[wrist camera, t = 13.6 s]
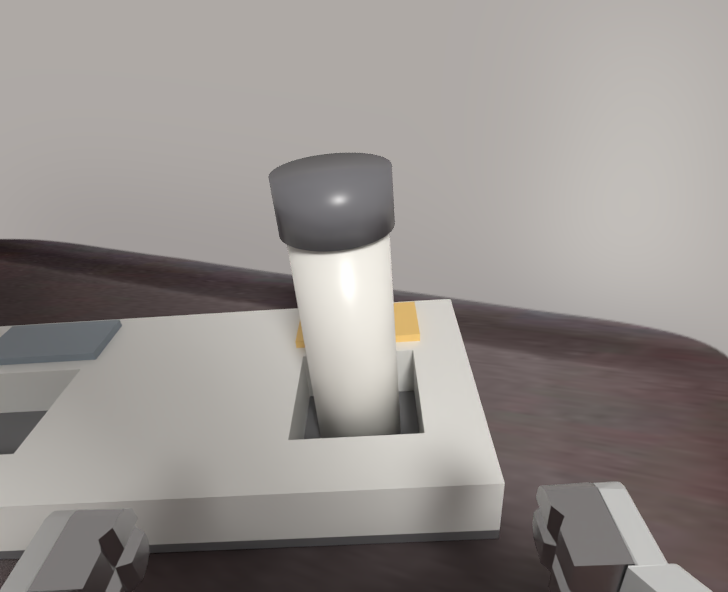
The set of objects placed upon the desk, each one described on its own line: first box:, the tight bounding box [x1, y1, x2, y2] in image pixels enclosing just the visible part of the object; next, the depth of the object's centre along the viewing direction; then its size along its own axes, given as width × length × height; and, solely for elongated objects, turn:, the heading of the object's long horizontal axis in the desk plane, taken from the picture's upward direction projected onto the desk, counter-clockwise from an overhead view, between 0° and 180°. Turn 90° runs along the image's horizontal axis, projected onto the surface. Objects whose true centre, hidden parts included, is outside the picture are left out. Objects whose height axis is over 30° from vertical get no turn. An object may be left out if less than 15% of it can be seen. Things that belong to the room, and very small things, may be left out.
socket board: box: [0, 299, 505, 559], centre depth 22 cm, size 26×12×3 cm, turn 90°
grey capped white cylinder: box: [269, 153, 401, 438], centre depth 19 cm, size 4×4×12 cm
